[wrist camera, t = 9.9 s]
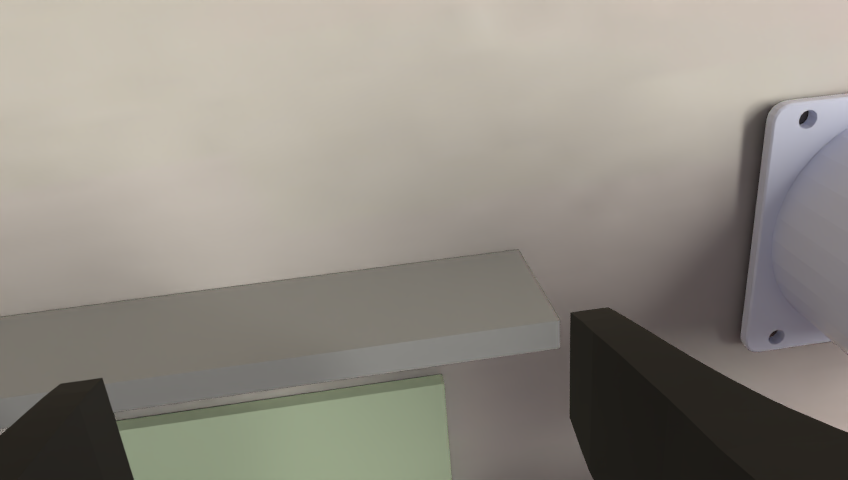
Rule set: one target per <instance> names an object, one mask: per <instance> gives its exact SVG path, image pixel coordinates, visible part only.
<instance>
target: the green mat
mask: <svg viewBox="0 0 848 480" xmlns="http://www.w3.org/2000/svg"><path fill="white" fill-rule="evenodd" d="M116 423H117V426H118V429H119V433H120V436H121V439H122V442H123V446H124V449H125V452H126V455H127V459H128V462H129V465H130V468H131V471H132V475H133V478H134V480H452V477H451V465H450V452H449V439H448V426H447V413H446V400H445V387H444V381H443V378H442V374H439V375H432V376H425V377H418V378H412V379H405V380H398V381H391V382H384V383H377V384H370V385H363V386H356V387H349V388H342V389H335V390H328V391H322V392H315V393H308V394H301V395H294V396H287V397H280V398H273V399H266V400H259V401H252V402H245V403H238V404H232V405H225V406H218V407H211V408H204V409H197V410H190V411H183V412H176V413H169V414H162V415H155V416H148V417H142V418H135V419H128V420H121V421H116Z"/></svg>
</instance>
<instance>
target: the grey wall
mask: <svg viewBox="0 0 848 480" xmlns="http://www.w3.org/2000/svg"><path fill="white" fill-rule="evenodd" d="M559 348H560V319H559V318H558V316H557V314H556V313H555V311H554V309H553V308H552V306H551V304H550V302H549V301H548V299H547V297H546V296H545V294H544V292H543V290H542V289H541V287H540V285H539V284H538V282H537V280H536V279H535V277H534V275H533V273H532V272H531V270H530V268H529V267H528V265H527V263H526V261H525V260H524V258H523V256H522V255H521V253H520V251H519V250H511V251H503V252H495V253H488V254H480V255H472V256H465V257H457V258H449V259H442V260H434V261H426V262H419V263H411V264H403V265H396V266H388V267H380V268H373V269H365V270H357V271H350V272H342V273H334V274H327V275H319V276H311V277H304V278H296V279H288V280H281V281H273V282H265V283H258V284H250V285H242V286H235V287H227V288H219V289H212V290H204V291H196V292H189V293H181V294H173V295H165V296H158V297H150V298H142V299H135V300H127V301H119V302H112V303H104V304H96V305H89V306H81V307H73V308H66V309H58V310H50V311H43V312H35V313H27V314H20V315H12V316H4V317H0V429H1V428H8V427H10V426H11V425H12V424H14V423H15V422H16V421H17V420H18V419H19V418H20V417H21V416H23V415H24V414H25V413H26V412H27V411H28V410H29V409H30V408H32V407H33V406H34V405H35V404H36V403H37V402H38V401H40V400H41V399H42V398H43V397H44V396H45V395H47V394H48V393H49V392H50V391H52V390H53V389H54V388H55V387H57V386H58V385H59V384H61V383H68V382H75V381H83V380H90V379H97V378H103V381H104V384H105V388H106V391H107V394H108V397H109V400H110V404H111V407H112V410H113V412H120V411H127V410H134V409H141V408H148V407H155V406H162V405H169V404H176V403H183V402H190V401H197V400H204V399H211V398H218V397H225V396H232V395H239V394H246V393H253V392H260V391H266V390H273V389H280V388H287V387H294V386H301V385H308V384H315V383H322V382H329V381H336V380H343V379H350V378H357V377H364V376H371V375H378V374H385V373H392V372H399V371H406V370H413V369H420V368H427V367H434V366H441V365H448V364H455V363H462V362H469V361H476V360H483V359H490V358H497V357H504V356H511V355H518V354H525V353H532V352H538V351H545V350H552V349H559Z"/></svg>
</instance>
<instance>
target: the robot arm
mask: <svg viewBox="0 0 848 480" xmlns="http://www.w3.org/2000/svg"><path fill="white" fill-rule="evenodd" d="M805 111H808V112H809V115H808V118H807V120H806V121H805V122H804V123H802V124H800V125H799V119H800V116H801V115H802V114H803V113H804V112H805ZM776 330H777V332H776V334H775V335H774V336H772V337H769V336H770V334H771V333H772V332H773V331H776ZM741 341H742V343H743V344H744V345H745V346H746V347H747V348H748V350H750V351H752V352H762V351H769V350H776V349H783V348H790V347H796V346H803V345H810V344H817V343H823V342H830V341H833V342H834V343H835V344H836V345H837V346H838V347H840V348H841V349H842V350H843V351H844V352H845V353H847V354H848V93H845V94H836V95H827V96H819V97H810V98H802V99H793V100H785V101H782V102H779V103H778V104H776V105H775V106H774V107H773V108H772V109H771V110H770V112H769V113H768V117H767V120H766V128H765V136H764V144H763V153H762V161H761V169H760V178H759V186H758V194H757V203H756V211H755V219H754V228H753V236H752V244H751V252H750V261H749V269H748V277H747V286H746V294H745V302H744V311H743V319H742V327H741ZM570 419H571V422H572V425H573V428H574V431H575V433H576V436H577V439H578V442H579V445H580V448H581V450H582V453H583V455H584V458H585V461H586V463H587V466H588V469H589V471H590V473H591V475H592V477H593V479H594V480H848V432H845V431H843V430H840V429H837V428H835V427H833V426H830V425H828V424H826V423H823V422H821V421H818V420H816V419H814V418H811V417H809V416H807V415H804V414H802V413H800V412H797V411H795V410H792V409H790V408H788V407H786V406H784V405H782V404H779V403H777V402H775V401H773V400H771V399H769V398H767V397H765V396H763V395H761V394H759V393H757V392H755V391H753V390H751V389H749V388H747V387H745V386H743V385H741V384H739V383H737V382H735V381H734V380H732V379H730V378H728V377H726V376H724V375H722V374H721V373H719V372H717V371H715V370H713V369H712V368H710V367H708V366H706V365H704V364H703V363H701V362H699V361H698V360H696V359H694V358H692V357H691V356H689V355H687V354H686V353H684V352H682V351H680V350H679V349H677V348H675V347H674V346H672V345H670V344H669V343H667V342H666V341H664V340H662V339H661V338H659V337H657V336H656V335H654V334H652V333H651V332H649V331H648V330H646V329H644V328H643V327H641V326H639V325H638V324H636V323H634V322H633V321H631V320H629V319H628V318H626V317H624V316H623V315H621V314H619V313H617V312H616V311H614V310H612V309H610V308H600V309H593V310H586V311H579V312H572V313H571V320H570ZM0 480H134V478H133V475H132V471H131V468H130V465H129V462H128V459H127V455H126V452H125V449H124V446H123V442H122V439H121V436H120V433H119V429H118V426H117V423H116V420H115V417H114V413H113V410H112V407H111V404H110V400H109V397H108V394H107V391H106V388H105V384H104V381H103V378H97V379H90V380H83V381H75V382H68V383H61V384H59V385H58V386H57V387H55V388H54V389H53V390H52V391H50V392H49V393H48V394H47V395H45V396H44V397H43V398H42V399H41V400H40V401H38V402H37V403H36V404H35V405H34V406H33V407H32V408H30V409H29V410H28V411H27V412H26V413H25V414H24V415H23V416H21V417H20V418H19V419H18V420H17V421H16V422H15V423H14V424H12V425H11V426H10V427H9V428H8V429H7V430H6V431H5V432H4V433H2V434H1V435H0Z"/></svg>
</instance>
